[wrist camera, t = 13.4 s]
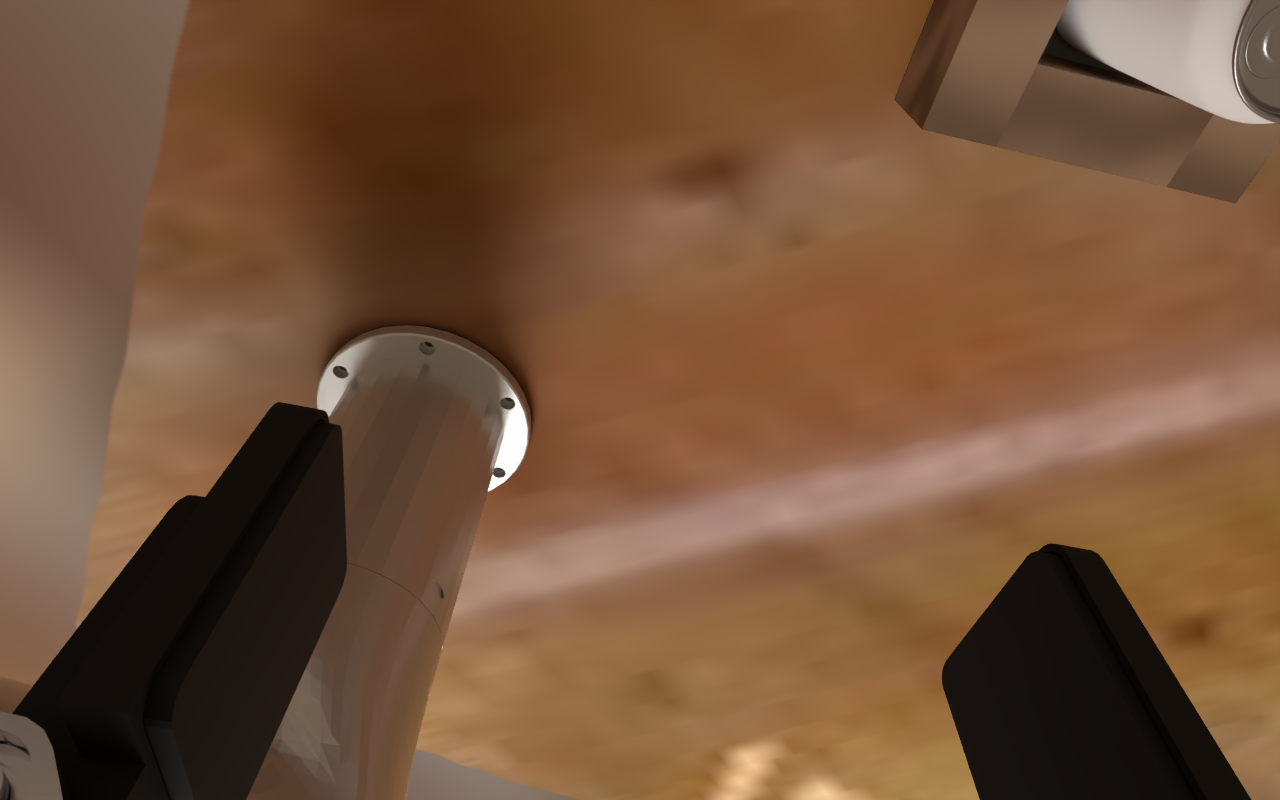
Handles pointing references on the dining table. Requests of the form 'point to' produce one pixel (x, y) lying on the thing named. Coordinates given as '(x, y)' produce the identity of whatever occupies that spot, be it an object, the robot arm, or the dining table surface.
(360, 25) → the dining table surface
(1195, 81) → the can
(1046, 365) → the dining table surface
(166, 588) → the robot arm
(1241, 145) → the socket block
